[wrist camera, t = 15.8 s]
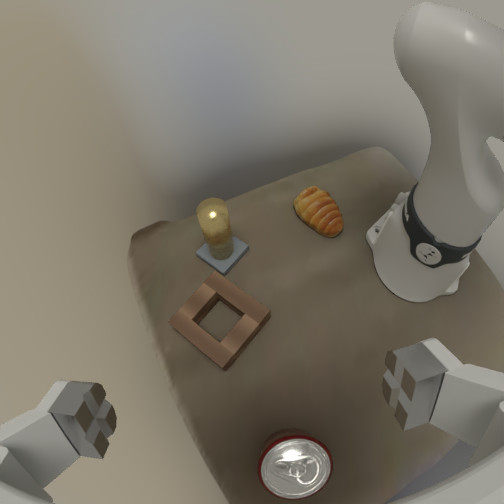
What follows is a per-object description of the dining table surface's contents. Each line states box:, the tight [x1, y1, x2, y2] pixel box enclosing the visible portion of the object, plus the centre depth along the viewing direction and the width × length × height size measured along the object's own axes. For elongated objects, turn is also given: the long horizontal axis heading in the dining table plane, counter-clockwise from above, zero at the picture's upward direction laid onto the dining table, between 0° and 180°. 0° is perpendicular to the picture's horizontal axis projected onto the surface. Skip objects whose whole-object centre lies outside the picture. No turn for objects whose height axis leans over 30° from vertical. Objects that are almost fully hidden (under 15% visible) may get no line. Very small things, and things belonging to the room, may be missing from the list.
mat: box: [196, 235, 249, 276], centre depth 48 cm, size 6×6×1 cm
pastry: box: [294, 186, 344, 237], centre depth 49 cm, size 9×7×4 cm
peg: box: [197, 198, 234, 260], centre depth 43 cm, size 4×4×10 cm
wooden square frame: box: [168, 270, 270, 371], centre depth 41 cm, size 10×10×3 cm
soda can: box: [258, 429, 333, 500], centre depth 28 cm, size 7×7×12 cm
